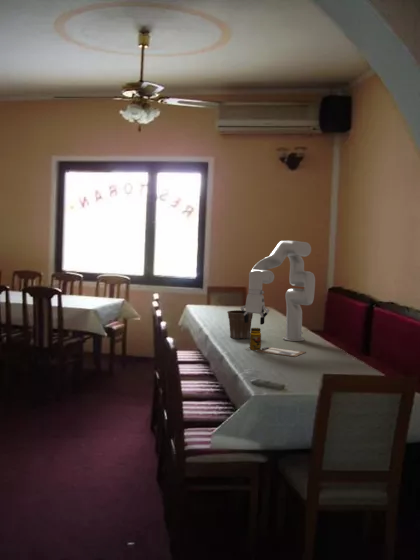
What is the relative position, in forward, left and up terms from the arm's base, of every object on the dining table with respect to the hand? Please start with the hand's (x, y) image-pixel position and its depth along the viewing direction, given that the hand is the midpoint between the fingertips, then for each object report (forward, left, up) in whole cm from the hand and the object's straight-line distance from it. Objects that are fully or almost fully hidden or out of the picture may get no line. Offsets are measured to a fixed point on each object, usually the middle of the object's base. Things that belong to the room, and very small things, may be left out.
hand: (254, 323), depth 317 cm
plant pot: (-28, -24, -15) cm, 40 cm away
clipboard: (-2, +16, -15) cm, 22 cm away
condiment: (0, 0, -15) cm, 15 cm away
